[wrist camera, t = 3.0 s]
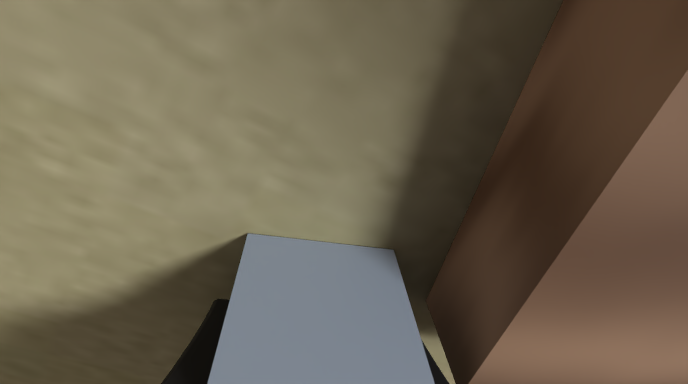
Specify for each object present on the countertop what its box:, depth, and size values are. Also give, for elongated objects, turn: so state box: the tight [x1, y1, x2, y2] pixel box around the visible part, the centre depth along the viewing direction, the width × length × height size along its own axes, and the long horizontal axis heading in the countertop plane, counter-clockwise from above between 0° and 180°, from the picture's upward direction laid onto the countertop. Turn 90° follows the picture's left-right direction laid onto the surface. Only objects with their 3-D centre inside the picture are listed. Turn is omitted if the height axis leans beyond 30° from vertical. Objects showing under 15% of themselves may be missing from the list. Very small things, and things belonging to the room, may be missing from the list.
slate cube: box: [207, 233, 435, 384], centre depth 10 cm, size 5×5×5 cm
